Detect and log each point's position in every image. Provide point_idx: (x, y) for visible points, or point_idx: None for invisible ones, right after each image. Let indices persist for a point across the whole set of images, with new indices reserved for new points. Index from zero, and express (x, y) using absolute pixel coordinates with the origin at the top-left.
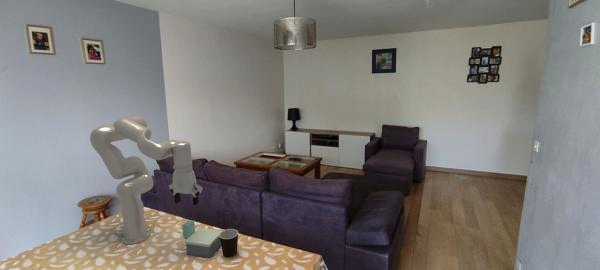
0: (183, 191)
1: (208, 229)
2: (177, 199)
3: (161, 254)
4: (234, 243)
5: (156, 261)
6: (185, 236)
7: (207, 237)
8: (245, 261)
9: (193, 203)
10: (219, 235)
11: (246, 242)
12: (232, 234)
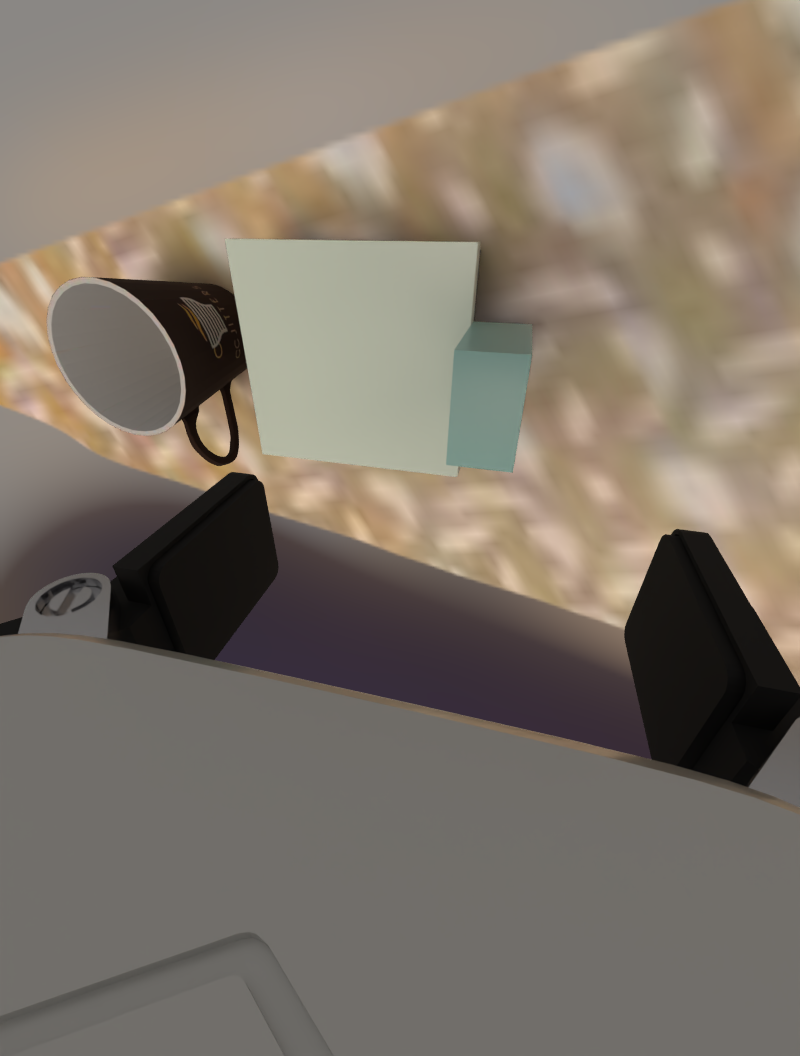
0: (208, 760)
1: (374, 464)
2: (669, 617)
3: (719, 200)
4: (100, 318)
5: (725, 66)
6: (506, 327)
7: (310, 349)
8: (91, 269)
9: (226, 489)
10: (157, 323)
11: None
12: (167, 413)
